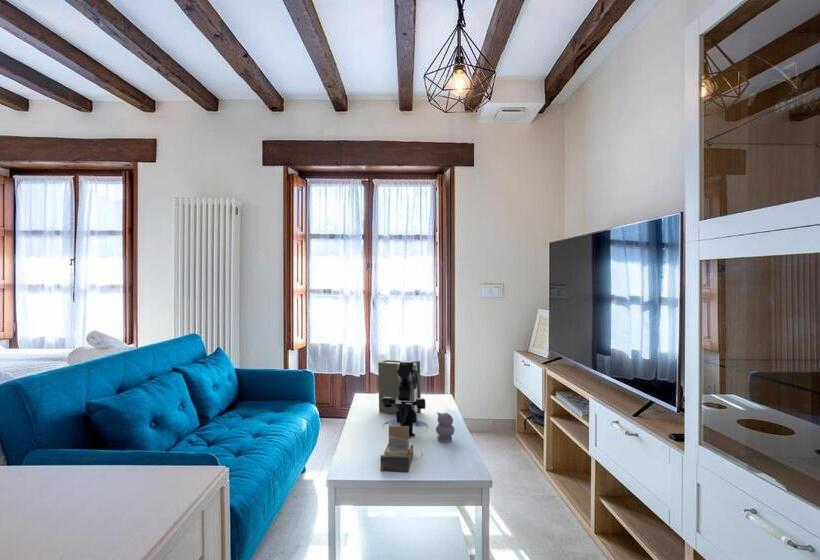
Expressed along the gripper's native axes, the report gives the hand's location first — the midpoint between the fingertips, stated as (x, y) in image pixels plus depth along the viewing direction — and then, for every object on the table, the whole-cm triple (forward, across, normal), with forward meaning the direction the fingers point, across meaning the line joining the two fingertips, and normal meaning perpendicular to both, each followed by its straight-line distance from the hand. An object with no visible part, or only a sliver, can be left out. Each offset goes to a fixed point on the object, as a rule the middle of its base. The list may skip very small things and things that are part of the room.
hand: (402, 422), depth 175 cm
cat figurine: (+2, -18, -16) cm, 24 cm away
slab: (+14, 0, +4) cm, 15 cm away
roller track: (+17, 0, +4) cm, 18 cm away
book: (-21, +8, -45) cm, 50 cm away
